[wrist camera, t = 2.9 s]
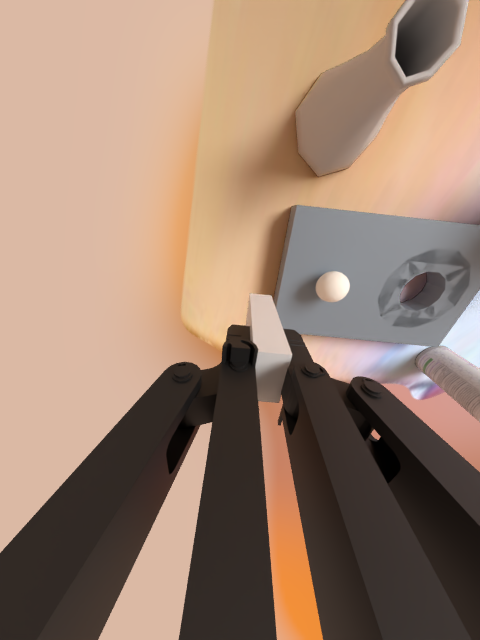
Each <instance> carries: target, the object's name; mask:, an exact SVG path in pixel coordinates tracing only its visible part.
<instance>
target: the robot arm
mask: <svg viewBox="0 0 480 640" xmlns="http://www.w3.org/2000/svg"><path fill="white" fill-rule="evenodd" d="M305 346H306V345H305V343H304V342H303V339H302V337H301V335H300V334H299V333H298V332H296V331H295V330H292V329H283V327H282V324H281V321H280V319H279V316H278V313H277V310H276V307H275V304H274V302H273V299H272V296H271V295H262V294H252V293H250V295H249V303H248V311H247V319H246V326H242V325H231V326H230V327H229V328H228V331H227V337H226V342H225V343H224V345H223V349H222V362H221V363H220V364H219V365H217V366H215V367H213V368H210V369H205V370H200V368H199V367H198V366H197V365H195V364H193V363H189V362H181V363H176V364H174V365H171V366H170V367H168V368H167V369H166V370H165V371H164V372H163V373H162V374H161V376H160V377H159V378H158V379H157V380H156V381H155V382H154V383H153V384H152V385H151V387H150V388H149V389H148V390H147V391H146V392H145V393H144V394H143V395H142V397H141V398H140V399H139V400H138V401H137V402H136V403H135V404H134V405H133V407H132V408H131V409H130V410H129V411H128V412H127V413H126V414H125V415H124V416H123V418H122V419H121V420H120V421H119V422H118V423H117V424H116V425H115V426H114V428H113V429H112V430H111V431H110V432H109V433H108V434H107V435H106V436H105V438H104V439H103V440H102V441H101V442H100V443H99V444H98V445H97V446H96V448H95V449H94V450H93V451H92V452H91V453H90V454H89V455H88V456H87V458H86V459H85V460H84V461H83V462H82V463H81V464H80V465H79V467H78V468H77V469H76V470H75V471H74V472H73V473H72V474H71V475H70V476H69V477H68V479H67V480H66V481H65V482H64V483H63V484H62V485H61V486H60V487H59V489H58V490H57V491H56V492H55V493H54V494H53V495H52V496H51V498H50V499H49V500H48V501H47V502H46V503H45V504H44V505H43V506H42V507H41V508H40V510H39V511H38V512H37V513H36V514H35V515H34V516H33V517H32V519H31V520H30V521H29V522H28V523H27V524H26V525H25V526H24V527H23V528H22V530H21V531H20V532H19V533H18V534H17V535H16V536H15V537H14V538H13V540H12V541H11V542H10V543H9V544H8V545H7V546H6V547H5V548H4V550H3V551H2V552H1V553H0V640H98V639H99V636H100V634H101V632H102V630H103V628H104V626H105V624H106V622H107V620H108V618H109V616H110V613H111V611H112V609H113V607H114V605H115V603H116V601H117V599H118V597H119V595H120V593H121V590H122V588H123V586H124V584H125V582H126V580H127V578H128V576H129V574H130V572H131V570H132V567H133V565H134V563H135V561H136V559H137V557H138V555H139V553H140V551H141V549H142V546H143V544H144V542H145V540H146V538H147V536H148V534H149V532H150V530H151V528H152V525H153V523H154V521H155V519H156V517H157V515H158V513H159V510H160V509H161V507H162V504H163V502H164V500H165V498H166V496H167V494H168V492H169V490H170V488H171V486H172V484H173V482H174V480H175V477H176V475H177V473H178V471H179V469H180V467H181V465H182V463H183V461H184V459H185V456H186V454H187V452H188V450H189V448H190V446H191V444H192V442H193V440H194V437H195V435H196V434H197V431H198V429H199V427H200V425H202V424H206V423H210V422H212V429H211V435H210V442H209V448H208V455H207V461H206V467H205V474H204V480H203V487H202V493H201V500H200V506H199V513H198V519H197V525H196V532H195V538H194V545H193V551H192V558H191V564H190V571H189V577H188V584H187V590H186V597H185V603H184V610H183V616H182V623H181V629H180V635H179V640H277V637H276V625H275V611H274V599H273V586H272V573H271V560H270V547H269V534H268V523H267V509H266V496H265V484H264V471H263V458H262V446H261V432H260V419H259V408H258V407H259V406H258V401H263V402H275V403H279V401H280V397H281V395H282V399H283V406H282V409H281V412H280V416H279V419H278V425H281V422H282V421H283V426H284V431H285V437H286V442H287V447H288V453H289V458H290V463H291V469H292V474H293V480H294V485H295V490H296V496H297V501H298V507H299V512H300V517H301V523H302V528H303V533H304V538H305V544H306V549H307V555H308V560H309V565H310V571H311V576H312V582H313V587H314V592H315V598H316V603H317V608H318V614H319V619H320V625H321V630H322V635H323V640H480V472H479V471H478V470H476V469H475V468H474V467H473V466H472V465H471V464H470V463H469V462H468V461H466V460H465V459H464V458H463V457H462V456H461V455H460V454H459V453H458V452H456V451H455V450H454V449H453V448H452V447H451V446H450V445H448V443H446V442H445V441H444V440H443V439H442V438H441V437H440V436H439V435H438V434H436V433H435V432H434V431H433V430H432V429H431V428H430V427H429V426H427V425H426V424H425V423H424V422H423V421H422V420H421V419H420V418H419V417H417V416H416V415H415V414H414V413H413V412H412V411H411V410H410V409H409V408H407V407H406V406H405V405H404V404H403V403H402V402H401V401H400V400H399V399H397V398H396V397H395V396H394V395H393V394H392V393H391V392H390V391H388V390H387V389H386V388H385V387H384V386H382V385H381V384H380V383H378V382H376V381H374V380H372V379H369V378H366V377H355V378H353V379H352V381H351V383H350V384H348V383H345V382H342V381H339V380H335V379H333V378H330V376H329V374H328V373H327V371H326V370H325V369H324V368H323V367H322V366H320V365H319V364H317V363H314V362H313V360H312V358H311V356H310V354H309V352H308V349H307V347H305ZM374 429H375V430H376V432H377V433H378V434H379V435H380V436H381V437H380V439H379V440H377V439H375V438H374V437H373V436H372V435H371V433H372V431H373V430H374Z"/></svg>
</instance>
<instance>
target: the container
mask: <svg viewBox="0 0 480 640" xmlns="http://www.w3.org/2000/svg"><path fill="white" fill-rule="evenodd" d="M415 364H416V366H417V367H418V368H419V369H420V370H421V371H422V372H423V373H424V374H426V375H427V376H428V377H429V378H430V379H431V380H432V381H434V382H435V383H436V384H437V385H438V386H439V387H440V388H442V389H443V390H444V391H445V392H446V393H447V394H448V395H450V396H451V397H452V398H453V399H454V400H455V401H456V402H457V403H459V404H460V405H461V406H462V407H463V408H464V409H465V410H466V411H468V412H469V413H470V414H471V415H472V416H473V417H475V418H476V419H477V420H478V421H479V422H480V369H479V368H478V367H476V366H475V365H473V364H472V363H470V362H469V361H467V360H466V359H464V358H462V357H461V356H459V355H458V354H456V353H455V352H453V351H452V350H450V349H449V348H447V347H445V346H438V347H430V348H427V349H426V350H424V351H422V352H421V353H420V354H419V355H418V356H417V358H416V361H415Z"/></svg>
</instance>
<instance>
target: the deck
mask: <svg viewBox="0 0 480 640" xmlns="http://www.w3.org/2000/svg"><path fill="white" fill-rule="evenodd" d="M331 271H337V272H341V273H343V274H344V275H345V276H346V277H347V278H348V280H349V283H350V288H349V291H348V293H347V295H346V296H345V297H344V298H343V299H341V300H339V301H337V302H326V301H324V300H322V299H321V298H320V297H319V296H318V295H317V293H316V283H317V281H318V279H319V278H320V277H321V276H322V275H323V274H325V273H327V272H331ZM425 272H426V273H427V283H426V285H425V286H424V288H423V290H422V291H421V292H420V293H419V294H418V295H417V296H415V297H414V298H413V299H411V300H408V301H405V302H402V303H400V294H401V292H402V290H403V288H404V286H405V285H406V284H407V283H408V282H409V281H410V280H412V279H413V278H414V277H415V276H417V275H420V274H423V273H425ZM479 289H480V225H474V224H465V223H456V222H447V221H438V220H429V219H419V218H410V217H401V216H392V215H383V214H374V213H365V212H356V211H347V210H338V209H329V208H320V207H311V206H301V205H295V206H292V207H291V212H290V217H289V222H288V227H287V233H286V238H285V243H284V248H283V253H282V259H281V264H280V269H279V274H278V279H277V284H276V290H275V295H274V300H273V302H274V304H275V307H276V310H277V313H278V316H279V319H280V321H281V324H282V327H283V329H292V330H295V331H296V332H298V333H299V334H307V335H318V336H328V337H338V338H349V339H359V340H369V341H380V342H390V343H401V344H411V345H421V346H432V347H438V346H439V345H440V343H441V342H442V340H443V339H444V338H445V336H446V335H447V334H448V332H449V331H450V329H451V328H452V327H453V325H454V324H455V323H456V321H457V320H458V318H459V317H460V316H461V314H462V313H463V312H464V310H465V309H466V307H467V306H468V305H469V303H470V302H471V300H472V299H473V298H474V296H475V295H476V294H477V292H478V291H479Z"/></svg>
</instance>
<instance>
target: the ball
mask: <svg viewBox="0 0 480 640" xmlns="http://www.w3.org/2000/svg"><path fill="white" fill-rule="evenodd" d="M349 288H350V283H349V280H348V278H347V277H346V276H345V275H344V274H343V273H341V272H337V271H331V272H327V273H325V274H323V275H322V276H321V277H320V278H319V279H318V281H317V283H316V293H317V295H318V296H319V297H320V298H321V299H322V300H324V301H326V302H337V301H339V300H341V299H343V298H344V297H345V296H346V295H347V293H348V291H349Z"/></svg>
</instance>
